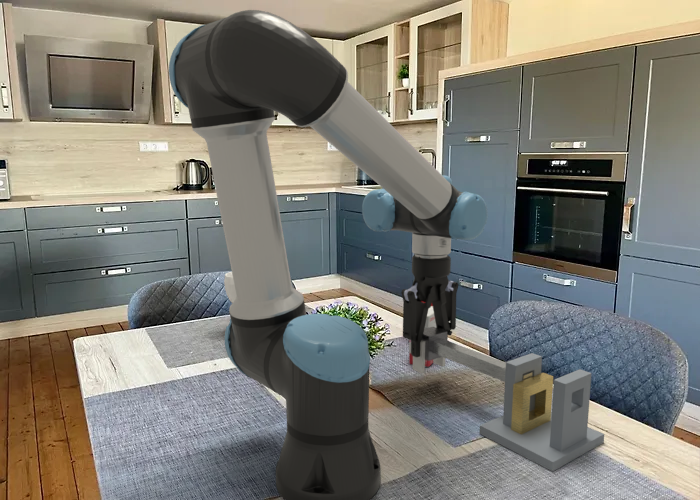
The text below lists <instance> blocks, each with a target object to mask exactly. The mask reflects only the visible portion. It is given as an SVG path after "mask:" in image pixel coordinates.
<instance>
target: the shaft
mask: <svg viewBox="0 0 700 500" xmlns="http://www.w3.org/2000/svg"><path fill="white" fill-rule="evenodd" d="M416 335H417V334H416ZM422 340H423V341H425V360H428V361H430V360H433V359H436V358H440V357H444V358H445V359H447V360H450V361H452V362H454V363H456V364H459V365H462V366H464V367H467V368H469V369H472V370H474V371H477V372H479V373H482V374H484V375H486V376H489V377H492V378H494V379H496V380H498V381H499V380H500V381H501V382H503V383H505V370H506V362H507V361H502V360H500V359H498V358H495V357H493V356H490V355H487V354H485V353H481V352H478V351H476V350H473V349H470V348H468V347H465V346H462V345H460V344H457V343H455V342H452V341H449V340H448V341H447V331H444V330H442V329H439V328H436V327H429V328H426V329H424V333H423V338H422ZM531 377H532V372H527V373H524V374H523V376H522V381H523V380H525V379H528V378H531Z"/></svg>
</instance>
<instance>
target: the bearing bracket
mask: <svg viewBox="0 0 700 500" xmlns="http://www.w3.org/2000/svg"><path fill="white" fill-rule="evenodd" d="M505 362H506V370H505V382H504V394H503V395H504V396H503V399H504V400H503V414H502V415H501V416H499V417H495V418H493V419H491V420H489V421H487V422H485V423H482V424H480V425H479V434H480V435H482V436H484V437H486V438H488V439H489V440H491V441H493V442H495V443H496V444H499V445H501V446H503V447H504V448H506V449H509V450H510V451H512V452H514V453H516V454H518V455H520V456H522V457H524V458H526V459H528V460H530V461H532V462H533V463H536V464H537V465H540V466H541V467H543V468H545V469H547V470H549V471H551V472H554V471H556V470H558V469H560V468H561V467H563V466H565V465H566V464H567V465H568V463H570V462H572V461H573V460H575V459H578V458H579V457H581V456H583V455H584V454H586V453H588V452H590V451H591V450H593V449H594V448H596V447H598V446H600V445H602V444H604V442H605V433H603V432H601V431H599V430H596V429H594V428H591V427H589V426H588V425H589V424H588V423H589V413H590V396H591V384H592V372H589V371H587V370H584V369H581V368H579V369H577V370H574V371H572V372H569V373H567V374H565V375H563V376H560V377H558V378H555V379H553V391H552V407H551V421H549V422H547V423H544V424H542V425H540V426H538V427H536V428H534V429H532V430H530V431H528V432H526V433H523V434H519V433H517V432H515V431H513V430H511V422H512V402H513V384H515V383H518V382H520V381H522V376H523V374H524V373H527V372H532V377H533V376H536V375H538V374H541V373H542V365H543V364H542V363H543V356H542V355H539V354H535V353H533V352H531V353H529V354H525V355H523V356H520V357H517V358H515V359H511V360H508V361H505ZM535 396H536V394H533V395H531V396H530V406H529V412H530V411H532V410H534V409H535Z"/></svg>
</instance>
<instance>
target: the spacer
mask: <svg viewBox="0 0 700 500" xmlns="http://www.w3.org/2000/svg"><path fill="white" fill-rule="evenodd" d="M553 384H554V376H553V375H551V374H548V373H546V372H541V374H538V375H536V376H533V377H531V378H528V379H525V380H523V381H520V382H518V383H515V384H513V402H512V422H511V430H513V431H515V432H517V433H519V434H523V433H526V432H528V431H530V430H532V429H534V428H536V427H538V426H540V425H542V424H544V423H547V422H549V421H551V412H552V400H553ZM533 394H536V396H535V409H534V410H532V411H530V412H529V406H530V396H531V395H533Z"/></svg>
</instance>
